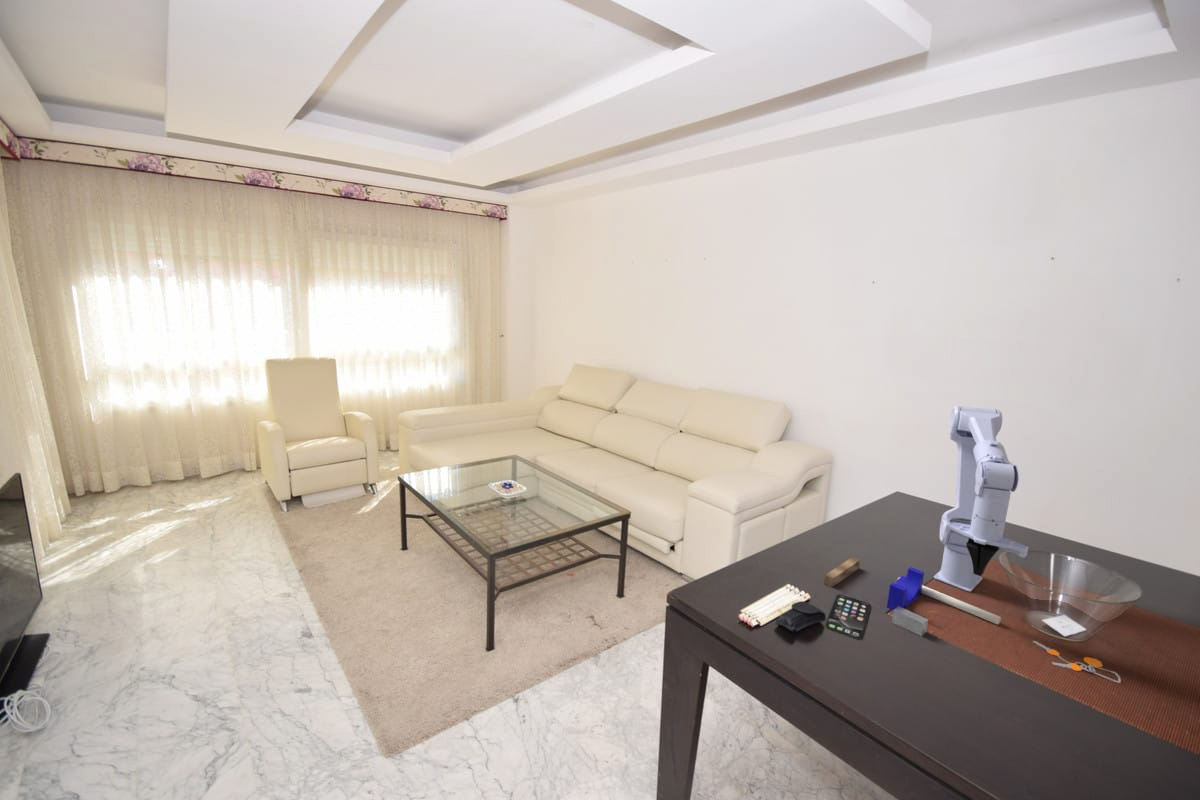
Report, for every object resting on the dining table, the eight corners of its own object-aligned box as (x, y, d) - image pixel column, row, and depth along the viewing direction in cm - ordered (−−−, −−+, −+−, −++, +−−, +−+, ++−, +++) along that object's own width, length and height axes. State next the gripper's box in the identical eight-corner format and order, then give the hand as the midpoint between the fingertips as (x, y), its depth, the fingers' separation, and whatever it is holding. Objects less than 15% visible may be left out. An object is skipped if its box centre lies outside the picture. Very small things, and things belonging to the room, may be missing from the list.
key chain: (1115, 666, 102) (1116, 662, 102) (1123, 689, 96) (1124, 685, 96) (1032, 640, 110) (1032, 636, 109) (1034, 660, 104) (1035, 656, 104)
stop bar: (851, 565, 138) (852, 557, 137) (858, 568, 136) (859, 560, 136) (824, 583, 129) (825, 575, 128) (831, 587, 127) (832, 578, 127)
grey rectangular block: (896, 618, 116) (898, 606, 115) (926, 631, 111) (928, 619, 111) (891, 622, 114) (893, 610, 114) (921, 636, 110) (923, 623, 109)
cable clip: (900, 586, 128) (903, 564, 127) (920, 594, 125) (924, 572, 124) (879, 605, 121) (883, 581, 120) (900, 614, 118) (904, 590, 116)
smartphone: (824, 627, 112) (837, 593, 125) (823, 629, 113) (836, 595, 125) (861, 640, 108) (871, 603, 121) (861, 642, 109) (871, 606, 121)
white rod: (898, 581, 130) (899, 574, 130) (1000, 622, 115) (1001, 615, 114) (895, 583, 129) (896, 577, 129) (997, 626, 114) (998, 618, 113)
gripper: (943, 509, 115) (934, 565, 118) (1026, 534, 104) (1013, 594, 107) (955, 501, 119) (946, 555, 122) (1035, 524, 108) (1023, 583, 111)
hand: (978, 573), depth 115 cm, fingers closed
